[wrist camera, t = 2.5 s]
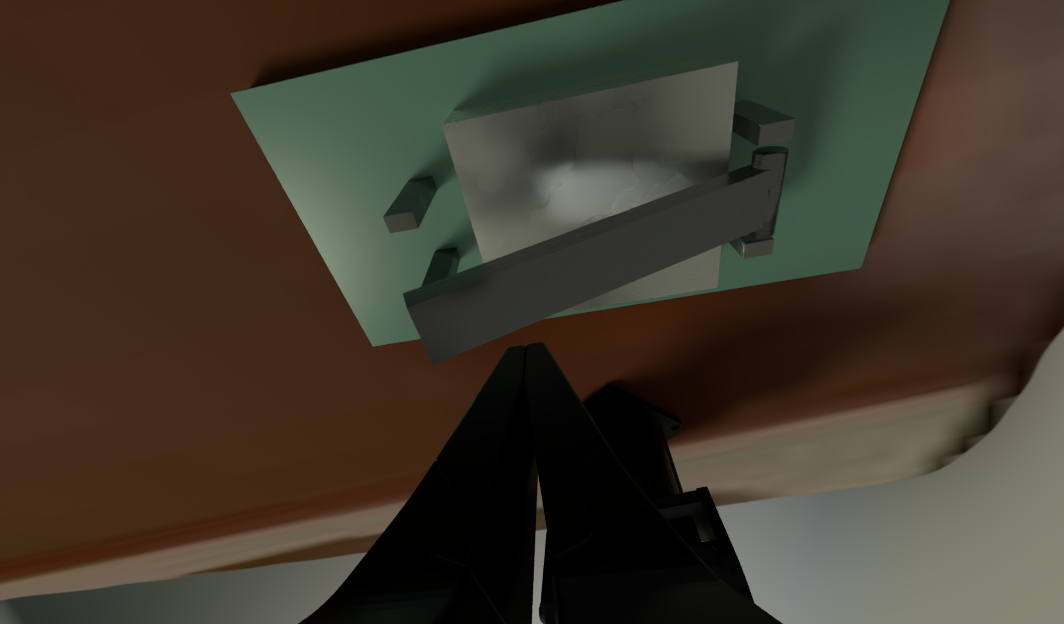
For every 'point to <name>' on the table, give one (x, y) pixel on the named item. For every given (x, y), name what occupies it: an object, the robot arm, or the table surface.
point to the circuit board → (581, 55)
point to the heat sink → (595, 163)
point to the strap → (597, 258)
